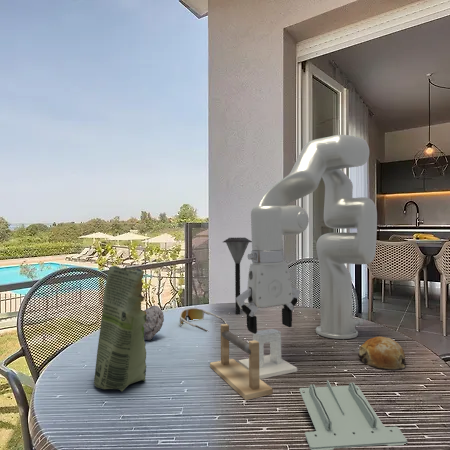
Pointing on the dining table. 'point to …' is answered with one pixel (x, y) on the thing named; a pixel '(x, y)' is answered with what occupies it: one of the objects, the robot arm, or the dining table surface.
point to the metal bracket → (345, 419)
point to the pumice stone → (153, 322)
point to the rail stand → (240, 367)
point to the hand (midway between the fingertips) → (270, 328)
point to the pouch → (121, 331)
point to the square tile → (271, 367)
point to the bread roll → (382, 353)
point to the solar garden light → (237, 261)
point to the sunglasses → (195, 316)
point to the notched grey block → (275, 345)
